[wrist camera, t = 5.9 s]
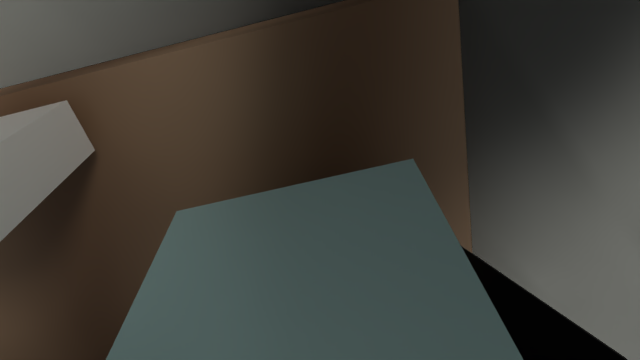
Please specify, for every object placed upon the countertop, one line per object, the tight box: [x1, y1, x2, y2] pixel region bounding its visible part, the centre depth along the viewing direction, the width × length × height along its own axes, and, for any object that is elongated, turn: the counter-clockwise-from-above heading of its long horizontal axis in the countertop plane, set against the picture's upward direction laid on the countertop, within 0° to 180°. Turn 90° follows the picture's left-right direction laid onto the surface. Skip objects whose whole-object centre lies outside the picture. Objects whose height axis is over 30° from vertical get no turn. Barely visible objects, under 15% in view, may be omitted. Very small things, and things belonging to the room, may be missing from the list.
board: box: [0, 0, 472, 360], centre depth 11 cm, size 18×14×1 cm
